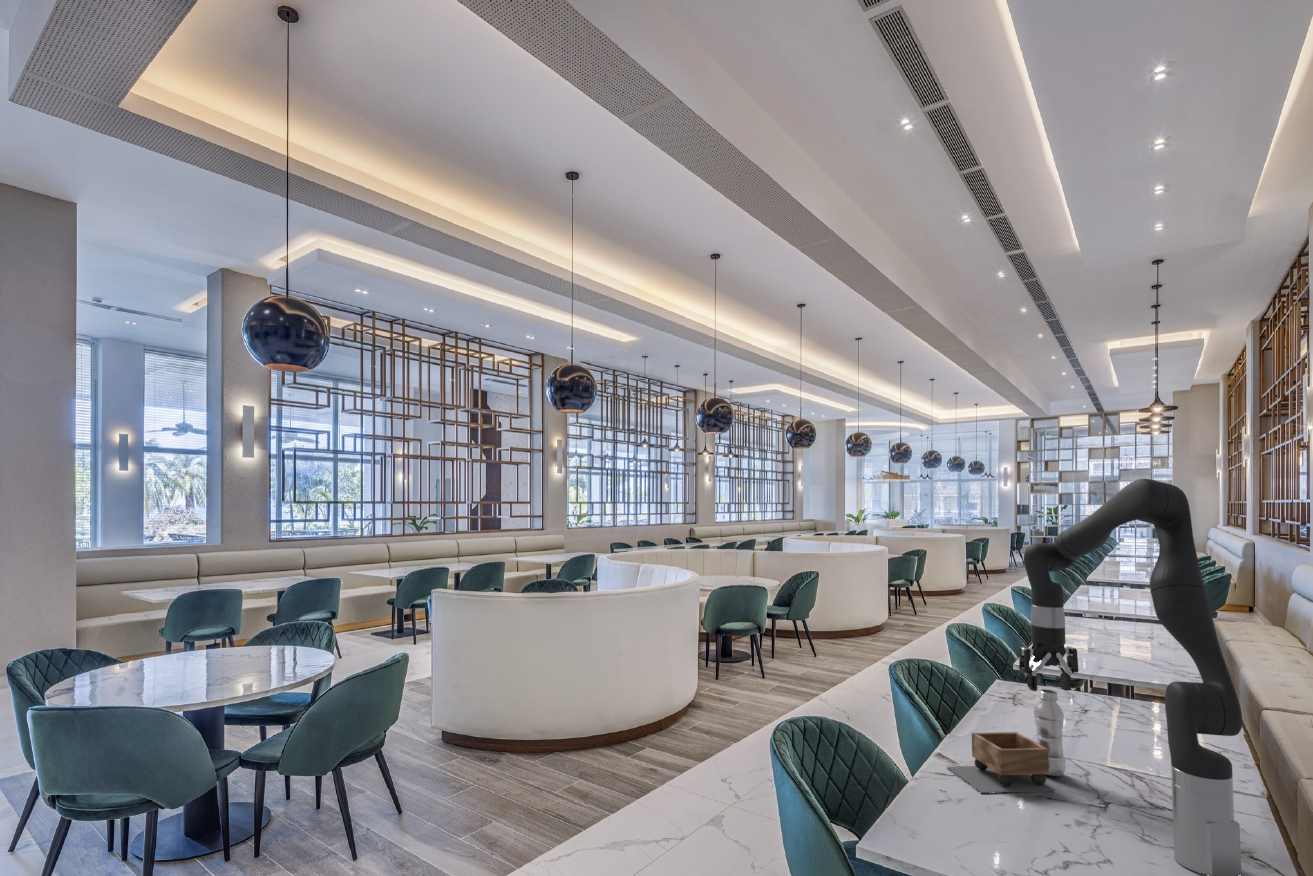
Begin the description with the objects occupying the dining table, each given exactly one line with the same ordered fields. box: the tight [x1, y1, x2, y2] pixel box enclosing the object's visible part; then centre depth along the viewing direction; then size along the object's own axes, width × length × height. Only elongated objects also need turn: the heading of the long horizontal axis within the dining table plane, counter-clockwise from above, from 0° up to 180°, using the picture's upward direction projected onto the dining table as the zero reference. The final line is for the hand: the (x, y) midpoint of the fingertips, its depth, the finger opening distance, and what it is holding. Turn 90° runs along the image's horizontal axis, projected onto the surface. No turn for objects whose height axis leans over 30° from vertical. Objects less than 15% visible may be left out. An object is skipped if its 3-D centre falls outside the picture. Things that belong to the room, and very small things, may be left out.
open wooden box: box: [971, 731, 1049, 786], centre depth 173 cm, size 12×12×8 cm
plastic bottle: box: [1033, 688, 1067, 777], centre depth 176 cm, size 6×7×20 cm
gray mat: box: [946, 765, 1055, 794], centre depth 172 cm, size 15×18×1 cm
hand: (1049, 690), depth 177 cm, fingers open, 8 cm apart
